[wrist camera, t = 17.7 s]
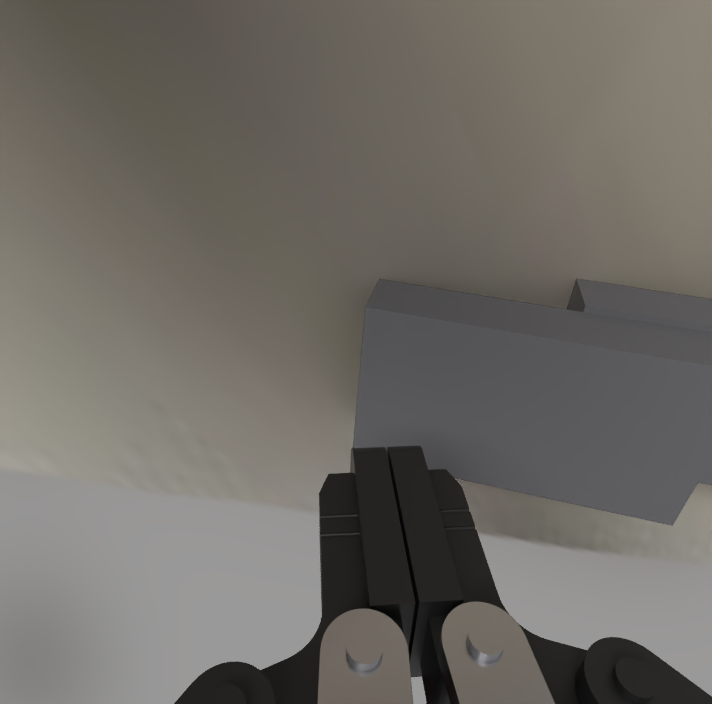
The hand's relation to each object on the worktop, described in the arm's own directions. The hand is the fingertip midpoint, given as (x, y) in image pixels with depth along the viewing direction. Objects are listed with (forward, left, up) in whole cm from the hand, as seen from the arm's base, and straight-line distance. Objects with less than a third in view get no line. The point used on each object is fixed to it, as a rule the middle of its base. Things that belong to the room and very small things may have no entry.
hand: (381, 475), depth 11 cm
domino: (0, 0, -4) cm, 4 cm away
